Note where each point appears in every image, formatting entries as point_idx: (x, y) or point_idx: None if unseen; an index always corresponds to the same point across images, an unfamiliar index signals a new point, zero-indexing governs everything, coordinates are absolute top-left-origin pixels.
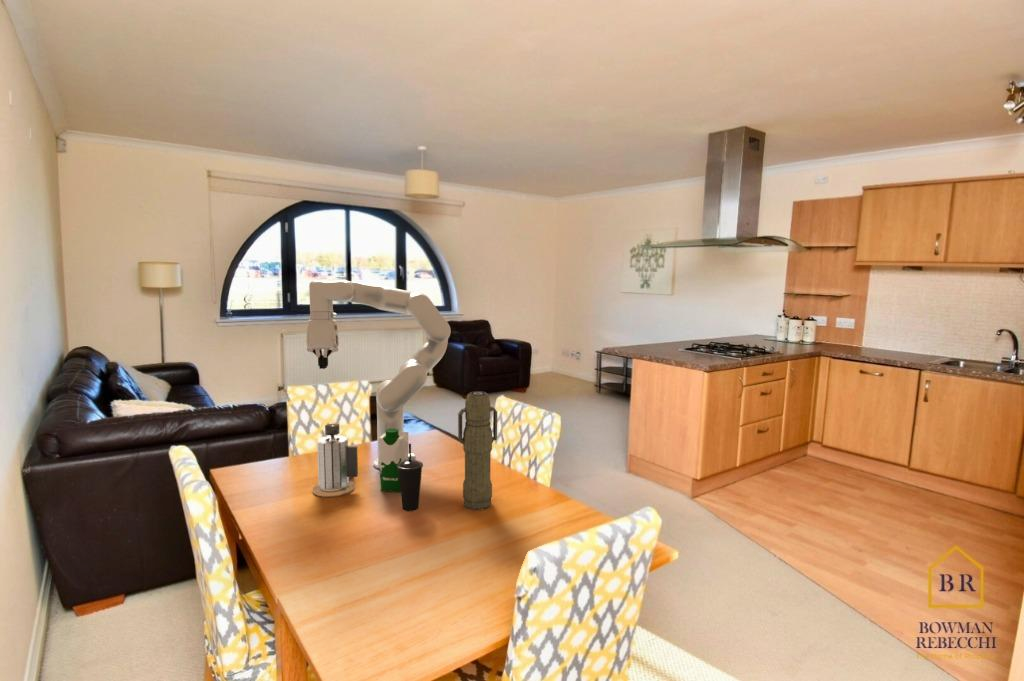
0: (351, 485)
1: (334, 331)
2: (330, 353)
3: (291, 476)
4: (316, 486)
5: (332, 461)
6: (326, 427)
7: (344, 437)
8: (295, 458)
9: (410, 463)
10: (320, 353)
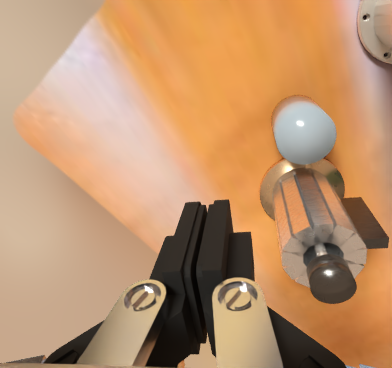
0: (336, 183)
1: None
2: (304, 350)
3: (179, 138)
4: (264, 195)
5: None
6: (320, 300)
7: (353, 241)
8: (115, 15)
9: None
10: (153, 345)
